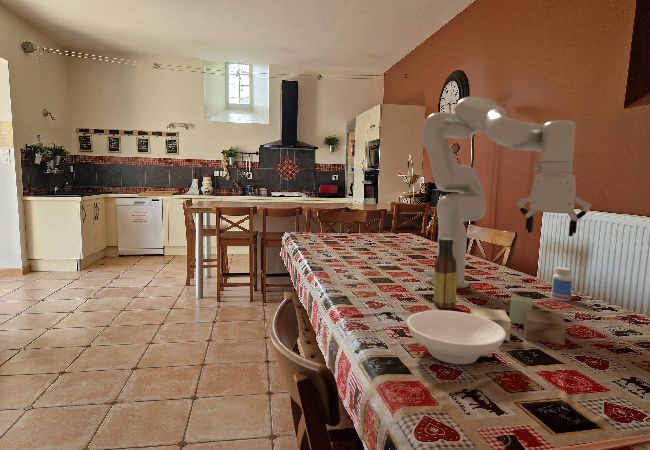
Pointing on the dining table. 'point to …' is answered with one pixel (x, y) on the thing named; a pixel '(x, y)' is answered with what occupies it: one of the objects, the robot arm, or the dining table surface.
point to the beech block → (494, 318)
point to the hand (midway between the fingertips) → (549, 234)
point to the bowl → (455, 335)
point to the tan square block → (544, 327)
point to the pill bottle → (562, 284)
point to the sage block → (519, 308)
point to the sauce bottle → (445, 275)
